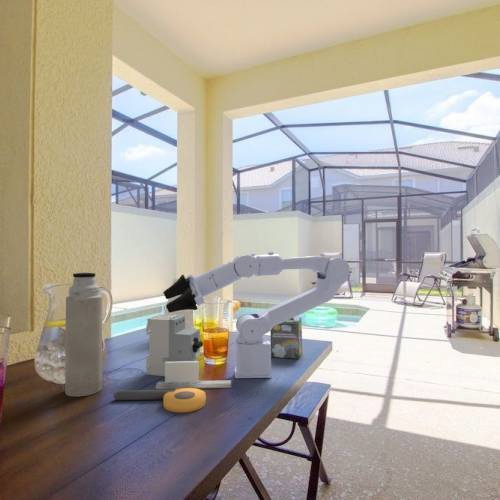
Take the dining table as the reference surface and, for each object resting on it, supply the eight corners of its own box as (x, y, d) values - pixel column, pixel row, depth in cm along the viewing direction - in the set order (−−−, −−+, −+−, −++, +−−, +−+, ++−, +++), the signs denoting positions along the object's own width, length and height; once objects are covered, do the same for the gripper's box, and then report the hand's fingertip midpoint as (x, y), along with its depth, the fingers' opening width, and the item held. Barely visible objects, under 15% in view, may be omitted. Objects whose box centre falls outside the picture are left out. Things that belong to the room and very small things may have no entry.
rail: (231, 384, 93) (231, 380, 93) (231, 387, 90) (231, 383, 90) (157, 385, 92) (157, 381, 92) (155, 389, 89) (155, 385, 89)
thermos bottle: (83, 383, 94) (83, 271, 94) (109, 386, 91) (109, 272, 92) (57, 394, 86) (58, 273, 87) (84, 398, 84) (85, 273, 84)
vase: (154, 341, 139) (154, 280, 140) (172, 332, 156) (172, 277, 157) (199, 343, 136) (199, 280, 137) (212, 333, 154) (212, 277, 154)
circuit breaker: (196, 378, 98) (196, 320, 98) (146, 374, 100) (146, 318, 101) (205, 369, 105) (205, 316, 105) (158, 366, 108) (158, 314, 108)
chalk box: (302, 352, 124) (302, 307, 124) (299, 359, 115) (299, 311, 115) (275, 350, 126) (275, 306, 126) (269, 357, 117) (269, 310, 117)
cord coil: (207, 395, 85) (207, 387, 85) (204, 411, 76) (204, 402, 76) (167, 396, 85) (167, 388, 85) (159, 413, 76) (159, 403, 76)
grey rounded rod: (178, 397, 84) (178, 388, 84) (176, 400, 82) (176, 391, 82) (115, 398, 84) (115, 389, 84) (112, 401, 82) (112, 392, 82)
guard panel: (198, 380, 91) (198, 361, 92) (198, 381, 91) (198, 362, 91) (165, 381, 91) (165, 361, 91) (164, 382, 90) (165, 362, 90)
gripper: (203, 258, 104) (157, 278, 102) (213, 278, 91) (162, 302, 89) (212, 278, 107) (168, 298, 105) (223, 301, 94) (173, 325, 92)
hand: (166, 302), depth 98 cm, fingers open, 7 cm apart
